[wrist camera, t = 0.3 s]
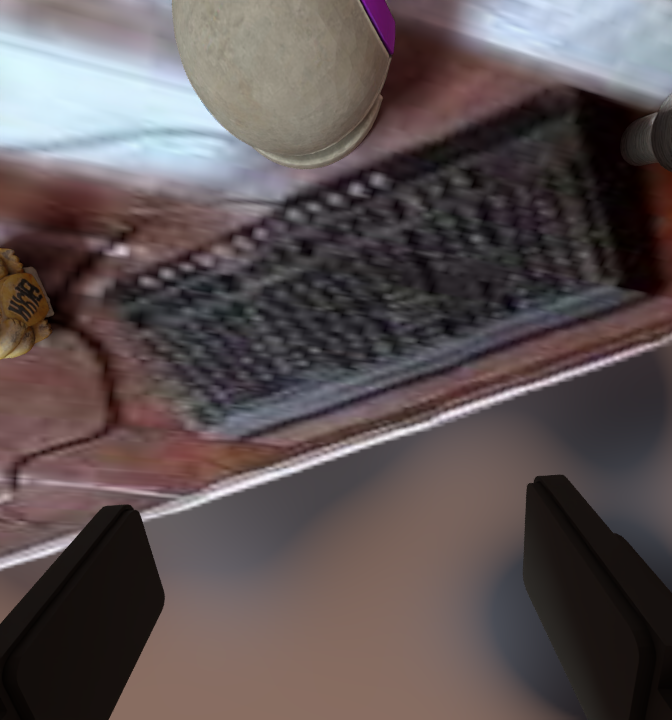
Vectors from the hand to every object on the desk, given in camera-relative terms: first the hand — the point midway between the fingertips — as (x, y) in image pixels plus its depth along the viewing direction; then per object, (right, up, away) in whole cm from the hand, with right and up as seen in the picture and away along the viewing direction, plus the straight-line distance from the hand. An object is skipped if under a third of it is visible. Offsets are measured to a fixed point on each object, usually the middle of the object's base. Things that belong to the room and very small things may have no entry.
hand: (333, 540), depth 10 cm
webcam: (-3, +27, +23) cm, 36 cm away
